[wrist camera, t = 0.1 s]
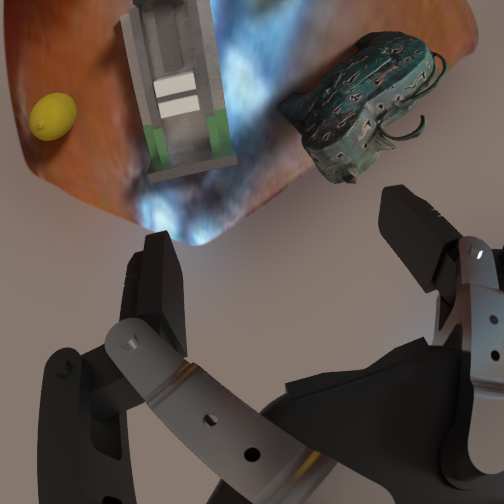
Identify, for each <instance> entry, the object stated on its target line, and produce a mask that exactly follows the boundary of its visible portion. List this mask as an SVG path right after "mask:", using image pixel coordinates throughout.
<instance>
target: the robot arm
mask: <svg viewBox="0 0 504 504" xmlns="http://www.w3.org/2000/svg"><path fill="white" fill-rule="evenodd" d="M378 226H379V230H380V233H381V235H382V236H383V238H384V239H385V240H386V241H387V243H388V244H389V245H390V246H391V248H392V249H393V250H394V252H395V253H396V254H397V255H398V257H399V258H400V259H401V261H402V262H403V263H404V265H405V266H406V267H407V268H408V269H409V271H410V272H411V274H412V275H413V277H414V278H415V279H416V280H417V282H418V283H419V285H420V286H421V287H422V289H423V290H424V292H425V293H429V292H431V291H434V290H438V291H439V294H438V296H437V302H436V317H435V330H434V338H433V343H432V345H428V344H427V342H426V340H425V339H424V337H422V338H419V339H417V340H414V341H412V342H409V343H407V344H404V345H402V346H399V347H397V348H394V349H393V350H392V351H390V352H389V353H387V354H386V355H385V356H383V357H382V358H380V359H379V360H378V361H376V362H375V363H373V364H372V365H370V366H369V367H367V368H365V369H362V370H354V371H341V372H327V373H321V374H318V375H314V376H311V377H307V378H304V379H300V380H296V381H292V382H288V383H285V388H286V393H285V394H284V395H282V396H280V397H278V398H277V399H275V400H274V401H272V402H271V403H269V404H268V405H267V406H266V407H265V408H264V409H263V410H262V411H261V412H260V413H258V412H257V411H255V410H254V409H252V408H251V407H250V406H249V405H247V404H246V403H244V402H243V401H242V400H241V399H239V398H238V397H237V396H236V395H234V394H233V393H232V392H230V391H229V390H228V389H227V388H226V387H224V386H223V385H222V384H221V383H219V382H218V381H217V380H216V379H214V378H213V377H212V376H211V375H210V374H208V373H207V372H206V371H205V370H204V369H203V368H201V367H200V366H199V365H197V364H195V363H192V364H190V363H189V362H188V361H186V360H185V359H184V357H187V345H186V344H187V343H186V329H185V311H184V291H183V275H182V271H181V266H180V263H179V261H178V258H177V255H176V253H175V250H174V247H173V244H172V242H171V238H170V236H169V233H168V231H167V230H165V231H161V232H157V233H153V234H149V235H146V237H145V244H144V250H143V251H140V252H136V253H134V255H133V257H132V258H131V260H130V261H129V263H128V265H127V271H126V278H125V283H124V285H125V287H124V290H123V296H122V303H121V311H120V319H119V322H118V323H116V324H115V325H114V326H113V327H112V328H111V329H110V331H109V332H108V334H107V336H106V338H105V343H104V344H103V345H101V346H99V347H97V348H95V349H93V350H91V351H89V352H87V353H85V354H83V355H80V354H79V353H78V352H77V351H76V350H75V349H73V348H62V349H60V350H58V351H56V352H55V353H54V354H52V356H51V357H50V358H49V360H48V361H47V363H46V365H45V369H44V375H43V382H42V390H41V400H40V409H39V422H38V442H37V443H38V444H37V476H38V497H39V504H137V503H136V497H135V490H134V483H133V477H132V468H131V461H130V451H129V440H128V428H127V413H126V410H128V409H131V408H133V407H135V406H137V405H140V404H142V403H144V402H147V403H146V404H147V405H148V406H149V408H150V409H151V410H152V411H153V412H154V413H155V414H156V416H157V417H158V418H159V419H160V420H161V421H162V422H163V423H164V424H165V425H166V426H167V427H168V428H169V430H170V431H171V432H173V434H174V435H175V436H176V437H177V438H178V439H179V440H180V441H181V442H182V443H183V444H184V445H185V446H186V447H187V448H189V449H190V451H192V452H193V453H194V454H195V455H196V456H197V457H198V458H199V459H200V460H201V461H202V462H203V463H204V464H206V465H207V466H208V467H209V468H210V469H211V470H212V471H213V472H215V473H216V474H217V475H218V476H219V477H220V478H221V479H220V481H219V483H218V485H217V486H216V488H215V490H214V491H213V493H212V495H211V496H210V498H209V500H208V501H207V503H206V504H504V246H503V248H502V249H491V248H490V247H489V246H488V245H487V244H486V243H485V242H484V241H483V240H481V239H479V238H477V237H473V236H465V237H463V236H462V235H461V234H460V233H459V232H458V231H457V230H456V229H455V228H454V227H453V226H452V225H451V224H450V223H449V222H448V221H447V220H446V219H445V218H444V217H443V216H442V217H441V214H440V213H439V212H438V211H436V210H434V208H433V207H432V206H431V205H430V204H429V203H428V202H427V201H425V200H423V199H422V198H420V197H418V196H416V195H414V194H413V193H412V192H411V191H410V190H409V189H408V188H406V187H405V186H404V185H395V186H389V187H385V188H383V191H382V196H381V205H380V211H379V219H378Z"/></svg>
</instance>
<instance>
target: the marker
mask: <svg viewBox="0 0 504 504" xmlns="http://www.w3.org/2000/svg"><path fill="white" fill-rule="evenodd" d="M153 83H154V87H155V92H156V97H157V98H156V100H157V104H158V106H159V110H160V115H161V118H165V117H169V116H174V115H178V114H182V113H187V112H192V111H196V110H200V108H199V102H198V96H197V88H196V85H195V79H194V73H193V70H190V71H185V72H181V73H176V74H172V75H168V76H163V77H159V78H158V79H156V80H155V81H154V82H153Z"/></svg>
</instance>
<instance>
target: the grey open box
mask: <svg viewBox="0 0 504 504" xmlns="http://www.w3.org/2000/svg"><path fill="white" fill-rule="evenodd" d="M173 9H174V15H175V21H176V27H177V33H178V39H179V45H180V51H181V57H182V63H183V69H181V70H176V71H172V72H168V73H164V68H163V63H162V57H161V52H160V46H159V41H158V35H157V29H156V23H155V17H154V11H153V10H151V11H147V12H143V11H142V10H141V9H139V8H138V7H136V8H132V9H129V13H128V14H125V15H121V16H120V20H121V26H122V31H123V37H124V42H125V47H126V53H127V58H128V62H129V67H130V72H131V77H132V81H133V86H134V90H135V95H136V99H137V103H138V107H139V111H140V116H141V120H142V124H143V129H144V133H145V137H146V140H147V144H148V148H149V152H150V155H151V162H150V166H149V170H148V173H147V176H148V179H149V182H150V184H152V183H156V182H160V181H164V180H168V179H172V178H177V177H181V176H185V175H190V174H195V173H199V172H204V171H209V170H213V169H218V168H223V167H229V166H234V165H238V161H237V155H236V152H235V150H234V148H233V145H232V143H231V139H230V132H229V126H228V119H227V113H226V107H225V100H224V94H223V87H222V81H221V74H220V67H219V61H218V54H217V47H216V41H215V34H214V27H213V20H212V14H211V7H210V0H184V3H182V4H177V5H173ZM190 70H193V73H194V79H195V85H196V88H197V96H198V102H199V108H200V110H196V111H192V112H187V113H182V114H178V115H174V116H169V117H165V118H161V115H160V110H159V106H158V104H157V100H156V98H157V97H156V92H155V87H154V83H153V82H154V81H155V80H156V79H158V78H159V77H163V76H168V75H172V74H176V73H181V72H185V71H190Z"/></svg>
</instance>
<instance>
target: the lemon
mask: <svg viewBox="0 0 504 504" xmlns="http://www.w3.org/2000/svg"><path fill="white" fill-rule="evenodd" d="M76 115H77V108H76V104H75V102H74V100H73V99H72V98H71V97H70V96H69V95H67V94H65V93H52V94H49V95H47V96H45V97H43V98H42V99H41V100H40V101H39V102H38V103H37V104H36V105H35V106H34V108H33V110H32V112H31V115H30V119H29V124H30V129H31V131H32V133H33V134H34V136H36V137H37V138H38V139H41V140H45V141H50V140H55V139H57V138H60V137H62V136H63V135H64V134H66V133H67V132H68V131H69V130H70V128H71V127H72V126H73V124H74V122H75V119H76Z"/></svg>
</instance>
